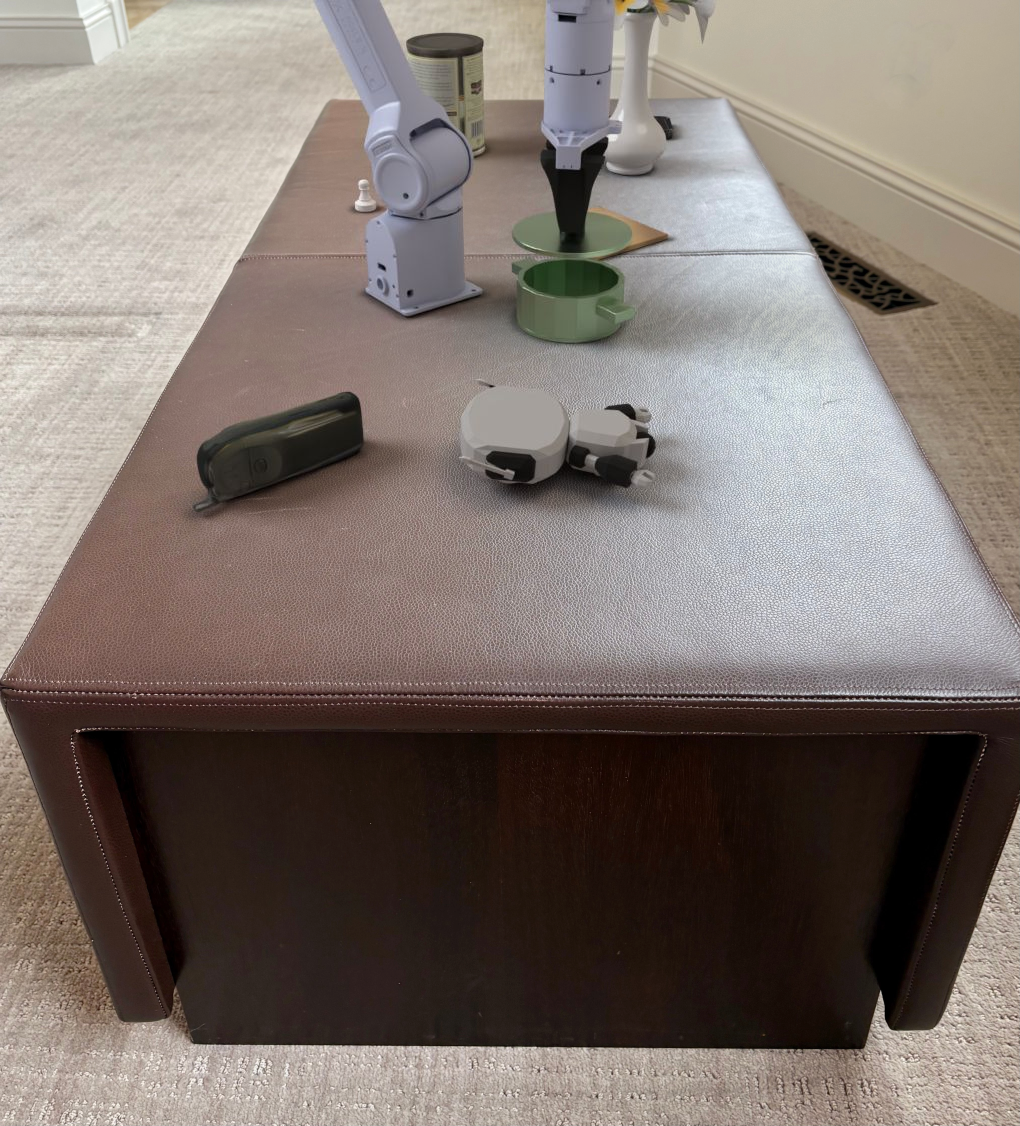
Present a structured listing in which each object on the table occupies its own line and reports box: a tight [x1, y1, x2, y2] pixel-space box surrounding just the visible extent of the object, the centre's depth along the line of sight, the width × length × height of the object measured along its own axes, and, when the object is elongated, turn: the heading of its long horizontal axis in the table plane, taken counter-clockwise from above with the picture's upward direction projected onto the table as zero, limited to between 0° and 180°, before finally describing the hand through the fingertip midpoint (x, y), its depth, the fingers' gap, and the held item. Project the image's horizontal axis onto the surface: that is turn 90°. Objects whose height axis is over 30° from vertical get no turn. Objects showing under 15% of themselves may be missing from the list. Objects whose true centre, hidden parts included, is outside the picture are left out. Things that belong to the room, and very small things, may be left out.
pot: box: [511, 257, 636, 344], centre depth 103 cm, size 10×16×4 cm, turn 37°
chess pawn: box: [354, 179, 377, 213], centre depth 129 cm, size 3×3×4 cm
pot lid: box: [511, 211, 633, 259], centre depth 99 cm, size 11×11×5 cm
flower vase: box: [603, 0, 717, 176], centre depth 135 cm, size 13×18×25 cm
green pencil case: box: [192, 391, 365, 513], centre depth 80 cm, size 5×3×15 cm
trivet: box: [587, 205, 669, 261], centre depth 123 cm, size 12×12×1 cm
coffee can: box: [405, 32, 486, 158], centre depth 146 cm, size 10×10×14 cm
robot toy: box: [457, 378, 657, 490], centre depth 82 cm, size 12×4×15 cm
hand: (572, 225), depth 99 cm, fingers closed on pot lid, 2 cm apart
